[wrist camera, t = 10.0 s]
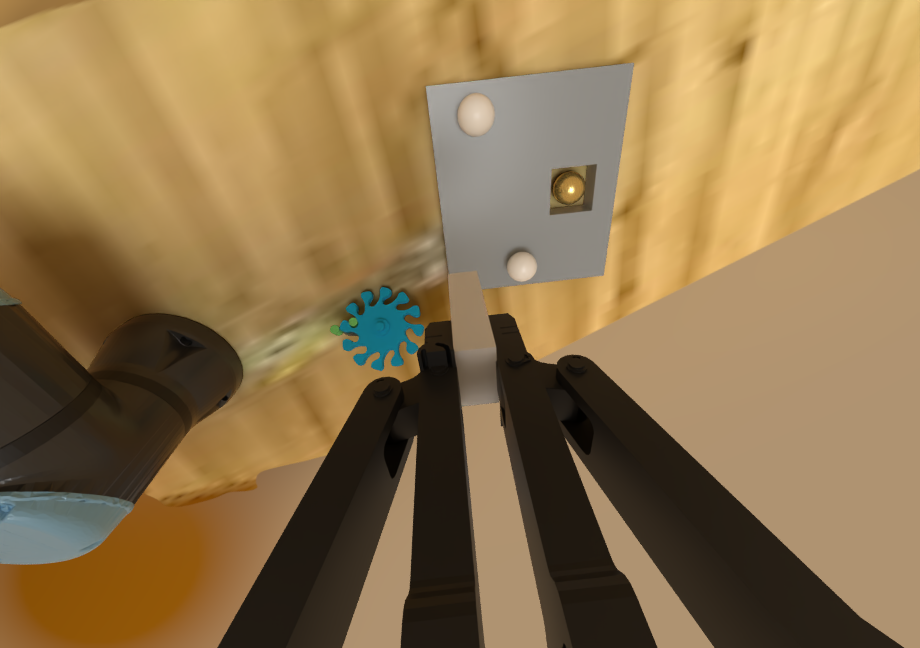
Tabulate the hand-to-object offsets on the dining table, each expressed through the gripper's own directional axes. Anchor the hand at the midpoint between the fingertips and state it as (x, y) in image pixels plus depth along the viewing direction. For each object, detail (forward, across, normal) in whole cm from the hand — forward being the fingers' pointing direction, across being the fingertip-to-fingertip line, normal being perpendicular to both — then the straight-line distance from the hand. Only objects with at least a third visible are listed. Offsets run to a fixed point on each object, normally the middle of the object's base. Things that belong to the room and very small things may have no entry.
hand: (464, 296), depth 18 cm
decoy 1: (+18, -7, +7) cm, 21 cm away
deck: (+22, -8, 0) cm, 24 cm away
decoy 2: (+18, -3, -8) cm, 20 cm away
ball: (+21, -12, 0) cm, 24 cm away
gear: (+23, +10, +13) cm, 28 cm away
